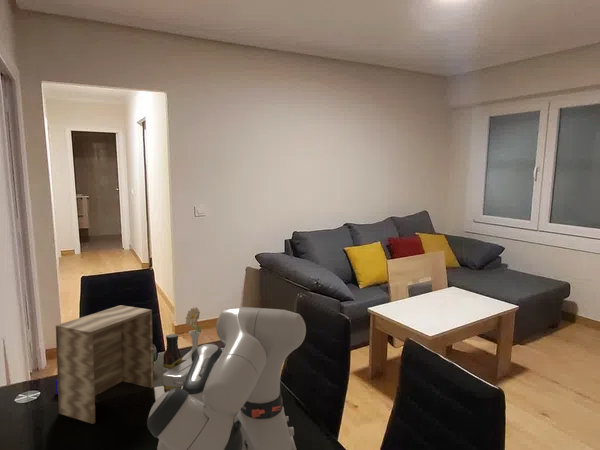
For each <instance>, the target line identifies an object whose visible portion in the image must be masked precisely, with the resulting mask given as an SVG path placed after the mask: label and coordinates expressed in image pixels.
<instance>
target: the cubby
mask: <svg viewBox="0 0 600 450" xmlns="http://www.w3.org/2000/svg"><path fill="white" fill-rule="evenodd" d="M55 339H56V340H55V342H56V343H55V345H56V367H57V370H56V371H57V372H56V373H57V380H58V394H57V395H58V396H57V397H58V414H60V415H63V416H66V417H68V418H72V419H75V420H79V421H82V422H85V423H88V424H92V425H93V424H95V423H96V405H95V402H96V396H98V395H99V394H102V393H103V392H105V391H107V390H109V389H110V388H112V387H114V386H116V385H118V384H119V383H121V382H124V383H128V384H134V385H137V386H140V387H141V386H142V387H145V388H148V387H149V389H153V388H154V367H153V309H148V308H143V307H142V308H141V307H137V306H136V307H135V306H128V305H121V304H120V305H116V306H114V307H110V308H106V309H104V310H101V311H97V312H95V313H91V314H88V315H85V316H81V317H79V318H75V319H72V320H69V321H66V322H62V323H58V324H56V325H55ZM152 387H153V388H152ZM97 394H98V395H97Z"/></svg>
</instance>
